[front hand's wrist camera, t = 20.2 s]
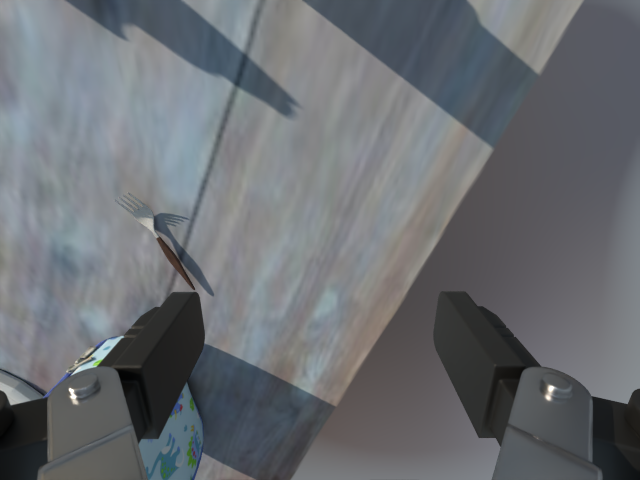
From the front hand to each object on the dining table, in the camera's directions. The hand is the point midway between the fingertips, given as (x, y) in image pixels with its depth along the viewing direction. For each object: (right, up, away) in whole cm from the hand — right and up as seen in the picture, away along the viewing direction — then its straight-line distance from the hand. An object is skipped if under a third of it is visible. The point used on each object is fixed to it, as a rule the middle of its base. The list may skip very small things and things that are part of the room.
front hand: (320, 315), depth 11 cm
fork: (-22, +2, +36) cm, 42 cm away
